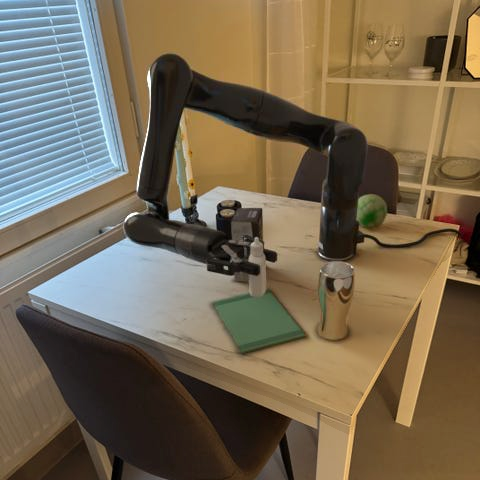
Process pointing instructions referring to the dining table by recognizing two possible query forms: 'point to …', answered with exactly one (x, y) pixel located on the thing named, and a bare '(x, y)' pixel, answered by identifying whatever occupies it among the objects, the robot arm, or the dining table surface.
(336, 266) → the beer glass
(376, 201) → the decorative ball
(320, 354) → the dining table surface
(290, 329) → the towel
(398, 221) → the dining table surface
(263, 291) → the eye dropper bottle
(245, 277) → the coffee box
